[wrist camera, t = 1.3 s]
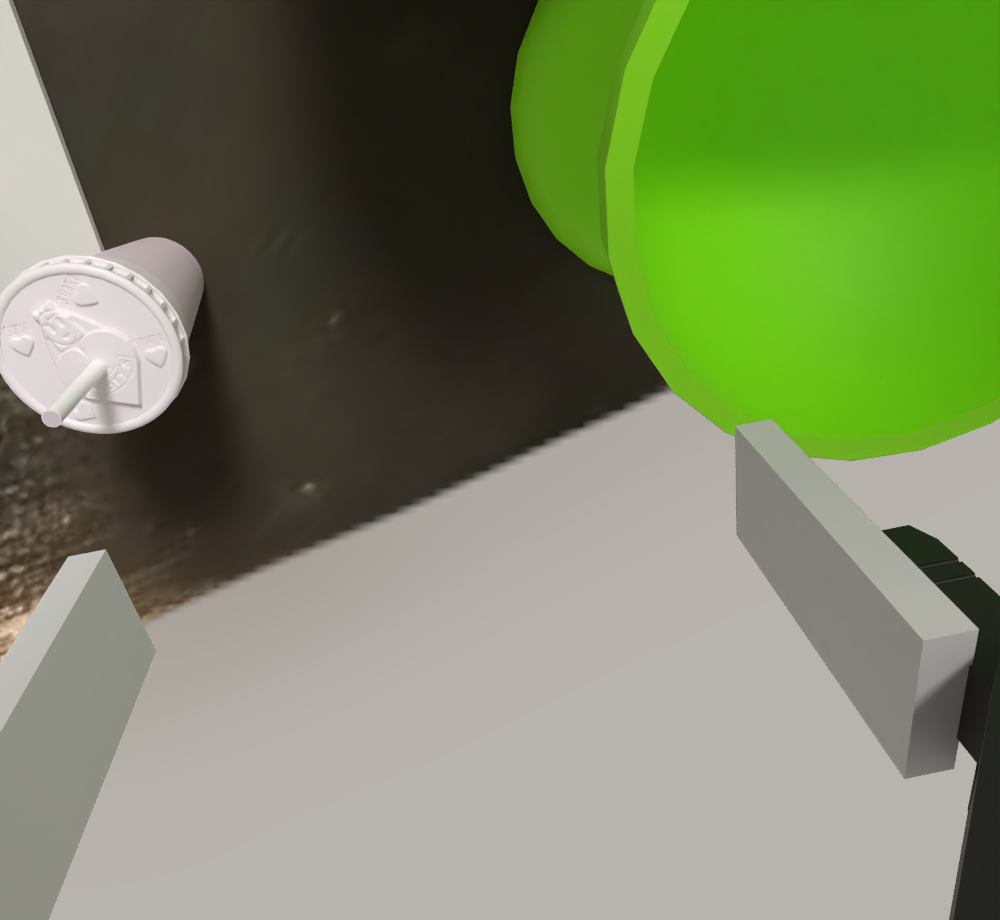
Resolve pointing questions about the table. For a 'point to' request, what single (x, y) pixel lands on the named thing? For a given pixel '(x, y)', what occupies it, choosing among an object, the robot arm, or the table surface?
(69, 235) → the felt mat
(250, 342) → the table surface
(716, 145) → the wineglass
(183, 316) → the smoothie
